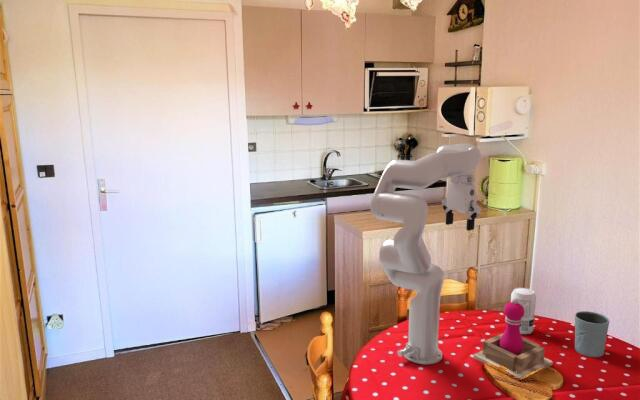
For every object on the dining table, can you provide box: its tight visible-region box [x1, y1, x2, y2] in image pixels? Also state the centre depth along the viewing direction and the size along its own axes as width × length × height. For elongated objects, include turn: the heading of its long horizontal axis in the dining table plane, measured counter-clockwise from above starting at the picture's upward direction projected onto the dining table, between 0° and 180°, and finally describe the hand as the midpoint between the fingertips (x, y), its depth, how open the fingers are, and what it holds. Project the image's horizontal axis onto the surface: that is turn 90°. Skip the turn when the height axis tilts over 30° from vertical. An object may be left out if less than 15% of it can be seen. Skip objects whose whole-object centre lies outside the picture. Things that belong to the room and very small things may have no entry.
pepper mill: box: [500, 298, 524, 356], centre depth 158 cm, size 7×7×20 cm
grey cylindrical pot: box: [574, 310, 610, 358], centre depth 165 cm, size 10×10×12 cm
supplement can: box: [510, 287, 537, 335], centre depth 180 cm, size 8×8×15 cm
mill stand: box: [473, 332, 553, 378], centre depth 159 cm, size 17×17×6 cm
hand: (459, 227), depth 176 cm, fingers open, 9 cm apart
